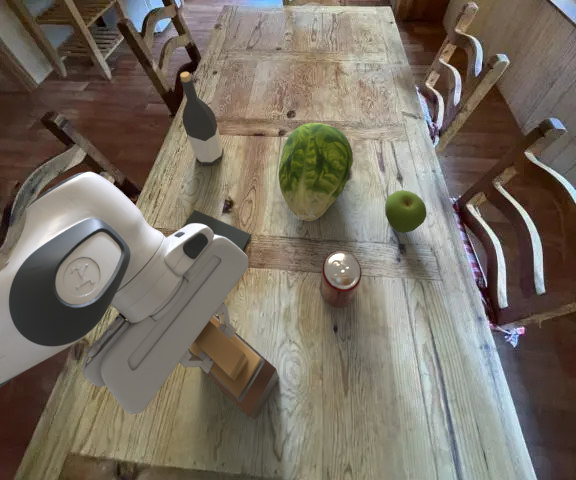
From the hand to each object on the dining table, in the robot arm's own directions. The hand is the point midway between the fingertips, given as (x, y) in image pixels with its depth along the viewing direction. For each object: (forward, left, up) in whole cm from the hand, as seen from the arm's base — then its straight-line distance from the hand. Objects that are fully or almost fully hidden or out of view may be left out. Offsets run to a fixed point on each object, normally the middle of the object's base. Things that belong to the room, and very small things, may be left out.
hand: (221, 349), depth 45 cm
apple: (+39, -20, -24) cm, 50 cm away
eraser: (0, +1, -5) cm, 5 cm away
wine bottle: (+39, +33, -24) cm, 56 cm away
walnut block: (0, +1, -24) cm, 24 cm away
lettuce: (+41, +2, -24) cm, 48 cm away
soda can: (+20, -11, -24) cm, 33 cm away
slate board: (+14, +19, -24) cm, 33 cm away
